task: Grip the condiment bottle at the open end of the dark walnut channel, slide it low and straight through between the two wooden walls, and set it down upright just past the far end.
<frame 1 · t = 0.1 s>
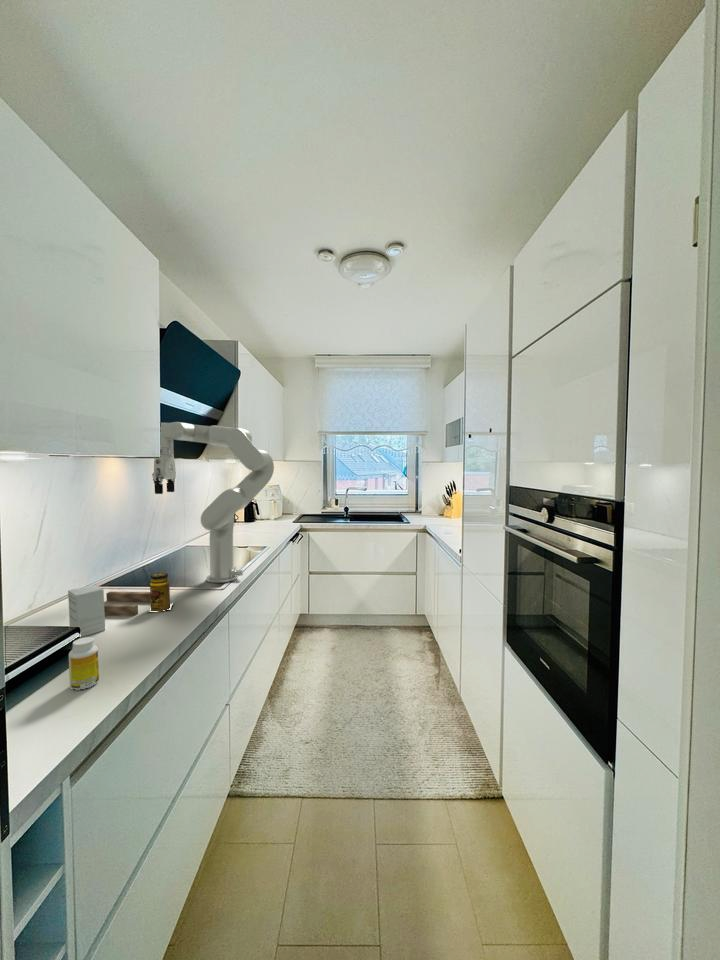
hand: (164, 492, 179), 37 cm above the worktop, tool pointing down, fingers open, 9 cm apart
channel: (121, 607, 146), on the worktop
condiment: (161, 608, 145), on the worktop
supplement bottle: (84, 685, 96), on the worktop
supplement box: (87, 631, 126), on the worktop
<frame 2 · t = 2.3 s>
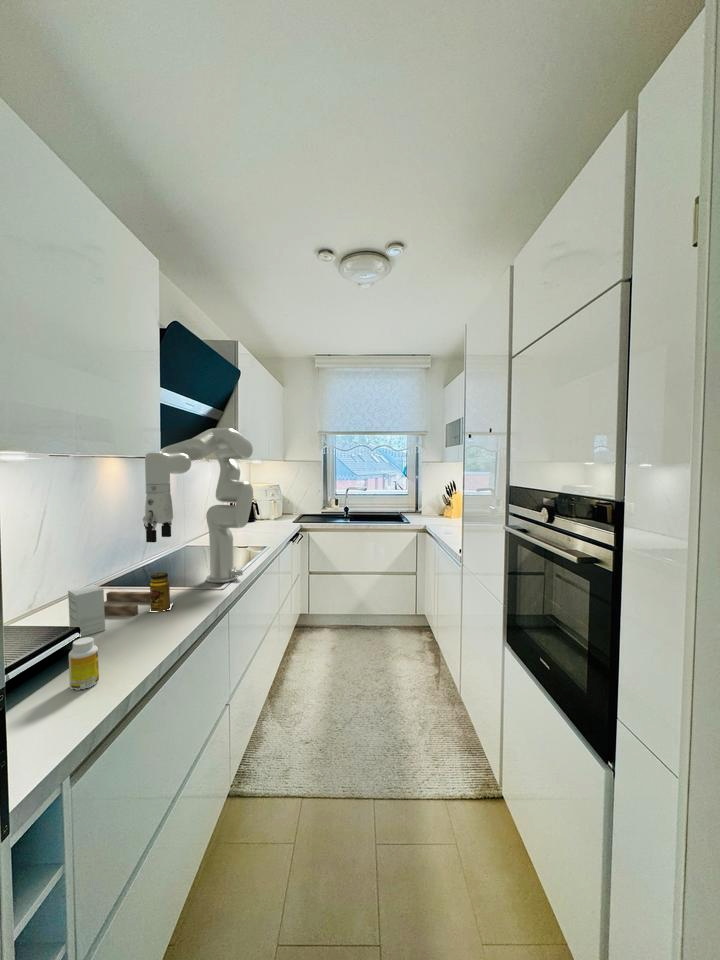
hand: (159, 539, 144), 24 cm above the worktop, tool pointing down, fingers open, 9 cm apart
nothing on the worktop moved.
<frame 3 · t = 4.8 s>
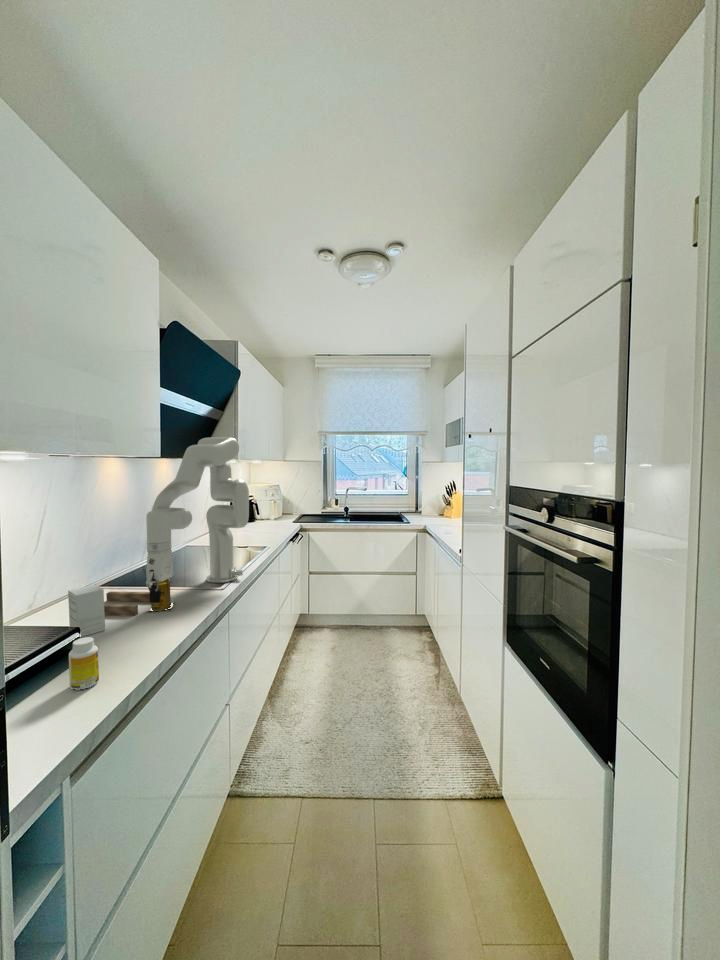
hand: (160, 598, 145), 3 cm above the worktop, tool pointing down, fingers closed on condiment, 6 cm apart
condiment: (162, 608, 146), on the worktop, touching gripper
everything else where it was.
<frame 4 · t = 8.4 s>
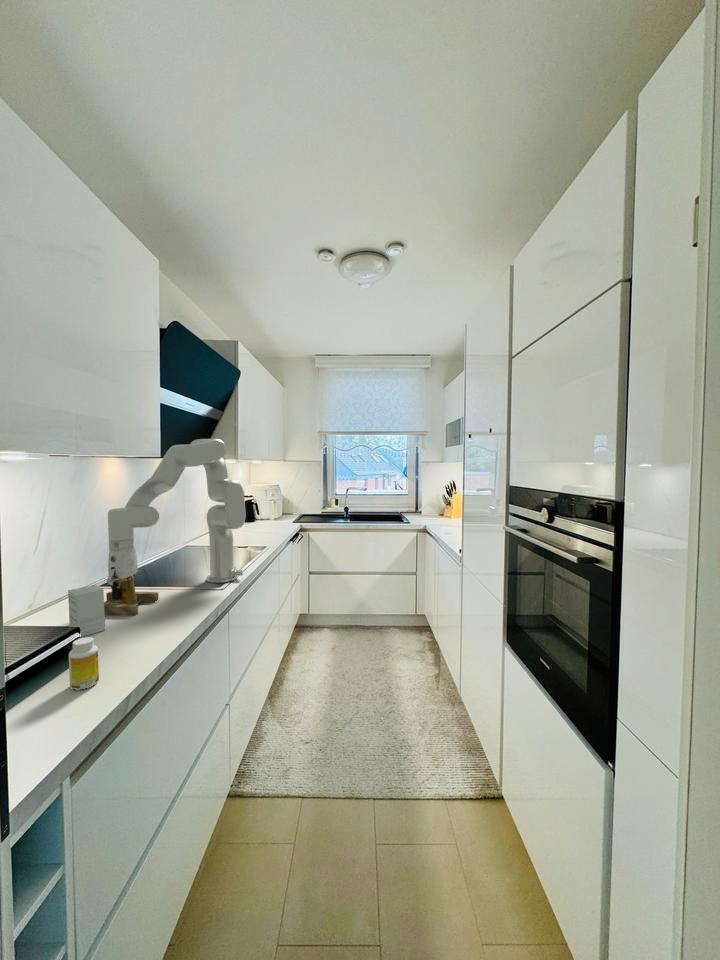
hand: (123, 595, 146), 4 cm above the worktop, tool pointing down, fingers closed on condiment, 6 cm apart
condiment: (129, 605, 147), on the worktop, touching gripper
everything else where it was.
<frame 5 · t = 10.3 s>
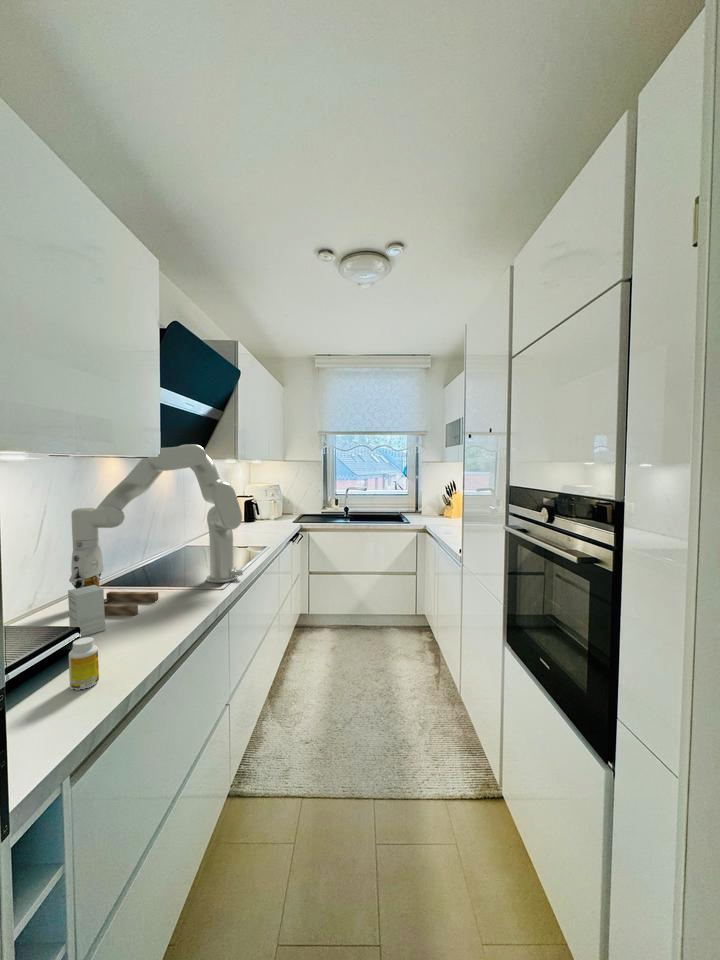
hand: (88, 595, 146), 4 cm above the worktop, tool pointing down, fingers closed on condiment, 6 cm apart
condiment: (94, 604, 147), on the worktop, touching gripper
everything else where it was.
when the fingers open (4 cm above the worktop, at t = 12.2 s): condiment stays where it is, on the worktop.
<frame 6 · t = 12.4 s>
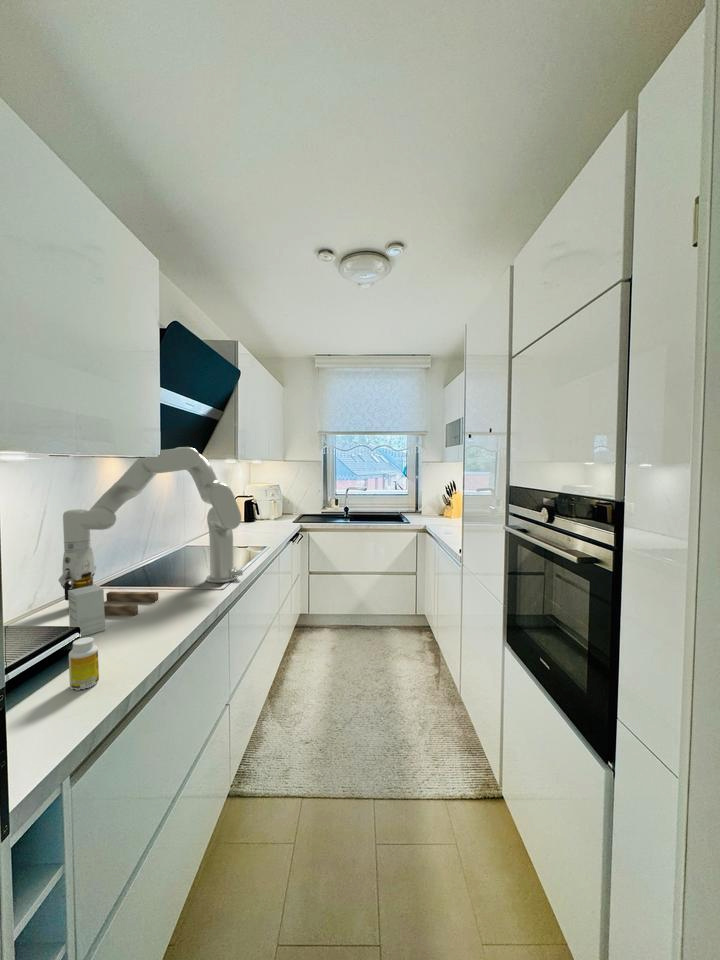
hand: (79, 595, 146), 4 cm above the worktop, tool pointing down, fingers open, 8 cm apart
condiment: (85, 606, 147), on the worktop
everything else where it was.
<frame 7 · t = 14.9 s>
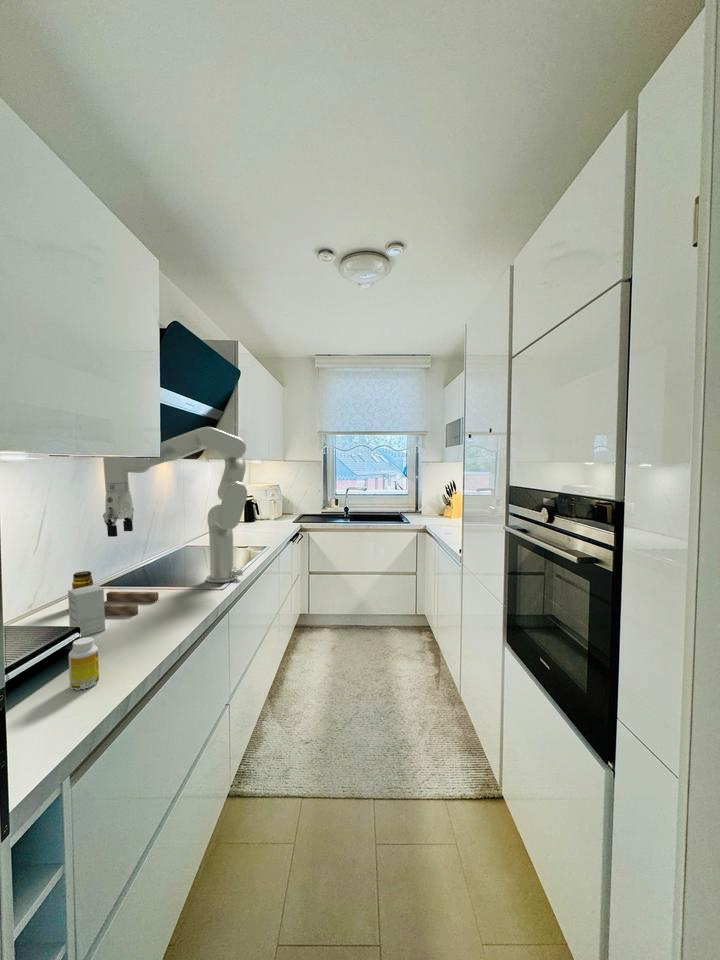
hand: (120, 533, 157), 23 cm above the worktop, tool pointing down, fingers open, 9 cm apart
nothing on the worktop moved.
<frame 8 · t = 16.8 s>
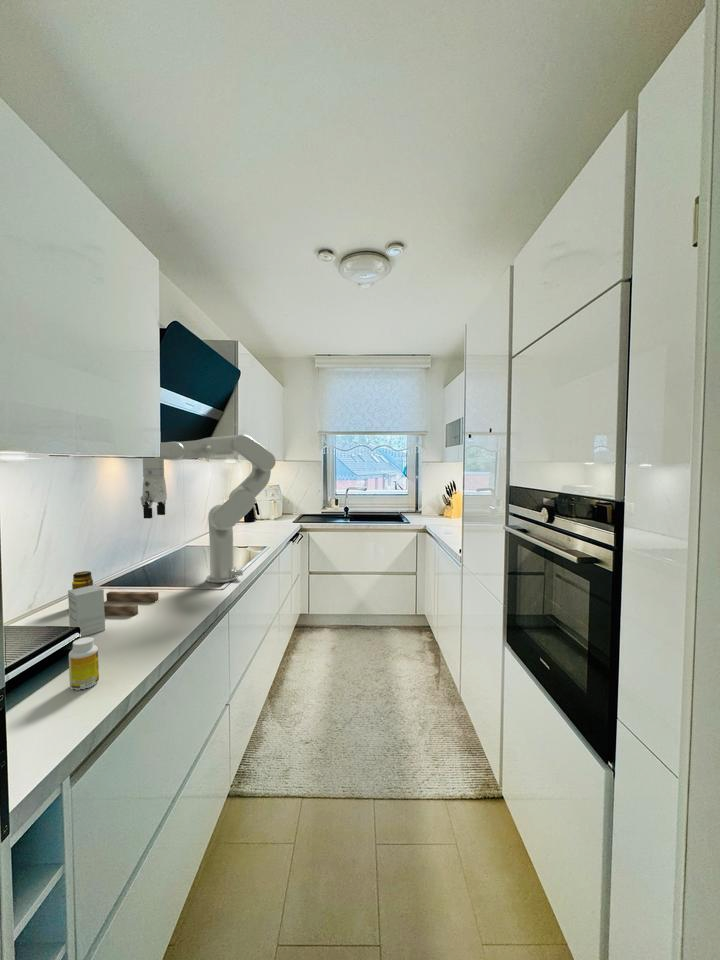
hand: (154, 516, 167), 28 cm above the worktop, tool pointing down, fingers open, 9 cm apart
nothing on the worktop moved.
at the end: condiment inside the target area (2.9 cm from its centre), on the worktop; condiment tilted 0°; the gripper is holding nothing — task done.
